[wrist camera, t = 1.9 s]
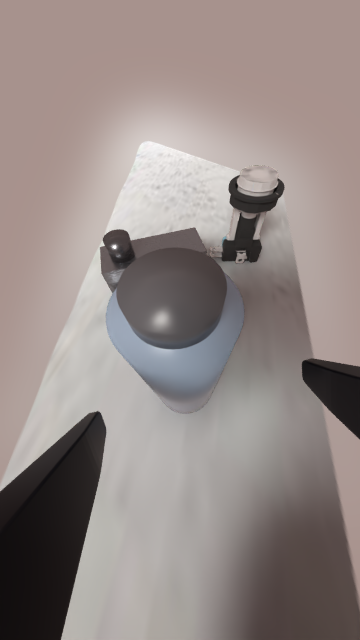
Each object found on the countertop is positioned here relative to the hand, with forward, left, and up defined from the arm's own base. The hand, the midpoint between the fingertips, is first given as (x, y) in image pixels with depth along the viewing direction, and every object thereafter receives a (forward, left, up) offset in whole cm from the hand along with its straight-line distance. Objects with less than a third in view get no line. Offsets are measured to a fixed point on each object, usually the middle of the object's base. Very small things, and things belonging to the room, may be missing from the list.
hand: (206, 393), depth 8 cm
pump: (+3, 0, -10) cm, 11 cm away
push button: (+18, -11, -10) cm, 23 cm away
